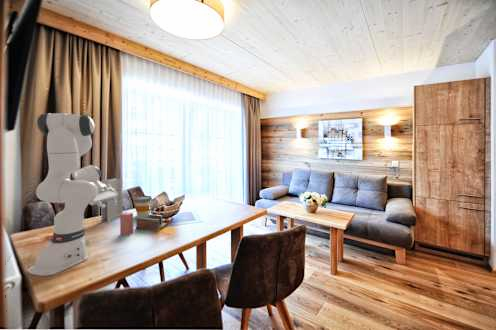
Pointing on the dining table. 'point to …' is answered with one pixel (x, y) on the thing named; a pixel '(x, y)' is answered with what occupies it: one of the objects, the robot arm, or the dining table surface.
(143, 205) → the reusable coffee cup
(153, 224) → the shelf
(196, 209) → the dining table surface
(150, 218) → the bookend
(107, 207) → the tall upright panel
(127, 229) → the book
